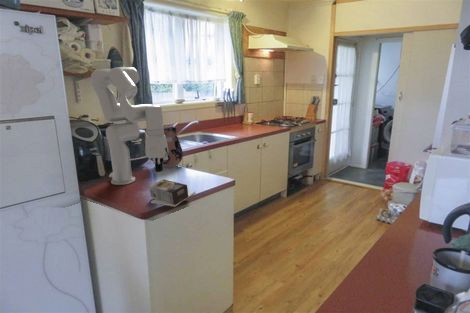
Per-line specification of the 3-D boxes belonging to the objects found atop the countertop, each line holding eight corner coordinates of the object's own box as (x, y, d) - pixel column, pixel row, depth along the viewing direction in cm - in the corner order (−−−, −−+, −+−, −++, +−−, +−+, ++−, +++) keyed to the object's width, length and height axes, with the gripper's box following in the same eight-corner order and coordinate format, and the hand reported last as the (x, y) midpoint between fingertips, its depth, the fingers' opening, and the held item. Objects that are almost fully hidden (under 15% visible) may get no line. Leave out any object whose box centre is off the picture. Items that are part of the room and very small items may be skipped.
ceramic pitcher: (178, 170, 196) (175, 129, 190) (145, 169, 199) (141, 129, 193) (187, 162, 213) (184, 124, 206) (156, 161, 216) (153, 124, 210)
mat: (150, 202, 147) (150, 201, 147) (173, 189, 163) (172, 188, 163) (175, 206, 142) (174, 205, 142) (195, 192, 158) (195, 191, 158)
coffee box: (163, 178, 156) (187, 184, 147) (165, 190, 158) (189, 197, 149) (148, 185, 149) (173, 192, 140) (150, 198, 151) (175, 205, 142)
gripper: (136, 133, 147) (141, 172, 152) (164, 134, 141) (167, 175, 146) (147, 130, 154) (151, 167, 158) (174, 131, 148) (177, 170, 153)
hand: (159, 171), depth 152 cm, fingers closed
